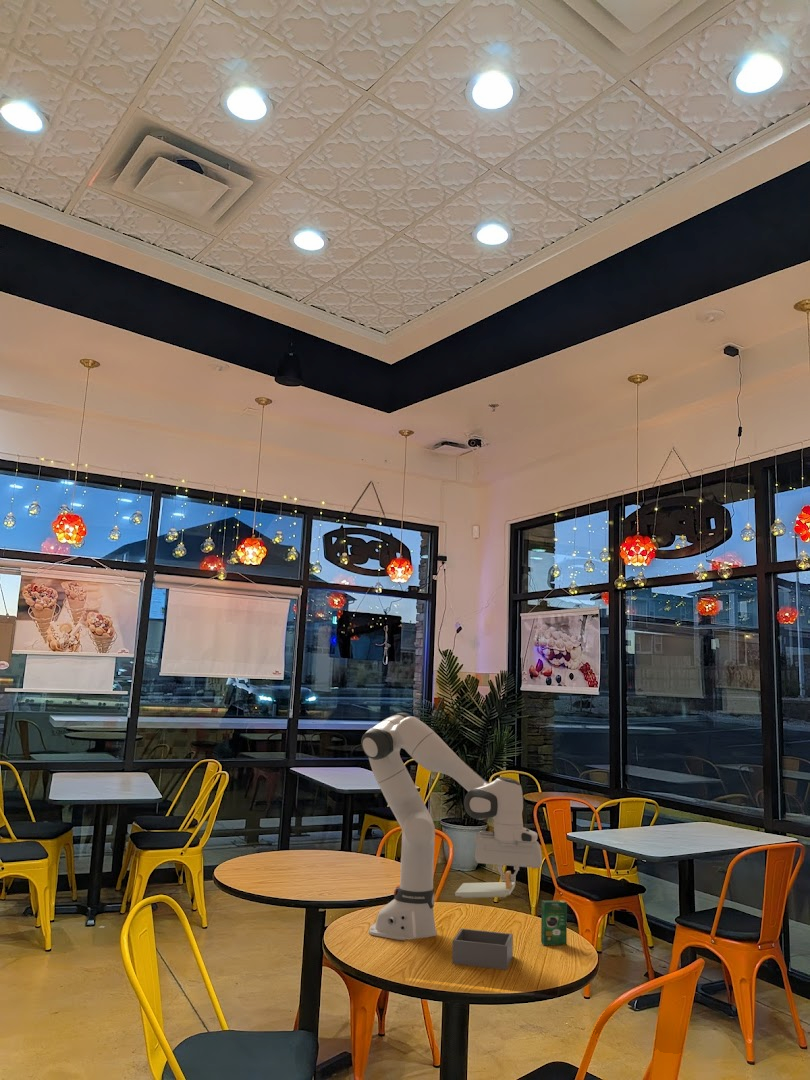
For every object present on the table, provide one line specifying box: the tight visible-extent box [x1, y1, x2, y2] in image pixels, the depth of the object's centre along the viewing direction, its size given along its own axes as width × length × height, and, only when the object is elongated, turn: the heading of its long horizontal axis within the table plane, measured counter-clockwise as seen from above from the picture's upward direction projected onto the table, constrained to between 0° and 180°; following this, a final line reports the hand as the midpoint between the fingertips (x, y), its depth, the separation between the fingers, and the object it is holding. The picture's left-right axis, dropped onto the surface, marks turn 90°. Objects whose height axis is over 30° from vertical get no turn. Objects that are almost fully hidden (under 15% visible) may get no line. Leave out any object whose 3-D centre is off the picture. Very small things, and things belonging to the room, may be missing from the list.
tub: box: [451, 928, 514, 971], centre depth 230 cm, size 16×13×7 cm
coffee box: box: [540, 900, 568, 946], centre depth 250 cm, size 8×3×13 cm, turn 101°
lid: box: [454, 870, 516, 899], centre depth 236 cm, size 16×13×6 cm
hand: (508, 880), depth 234 cm, fingers closed on lid
